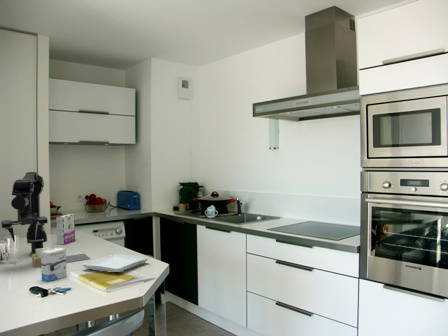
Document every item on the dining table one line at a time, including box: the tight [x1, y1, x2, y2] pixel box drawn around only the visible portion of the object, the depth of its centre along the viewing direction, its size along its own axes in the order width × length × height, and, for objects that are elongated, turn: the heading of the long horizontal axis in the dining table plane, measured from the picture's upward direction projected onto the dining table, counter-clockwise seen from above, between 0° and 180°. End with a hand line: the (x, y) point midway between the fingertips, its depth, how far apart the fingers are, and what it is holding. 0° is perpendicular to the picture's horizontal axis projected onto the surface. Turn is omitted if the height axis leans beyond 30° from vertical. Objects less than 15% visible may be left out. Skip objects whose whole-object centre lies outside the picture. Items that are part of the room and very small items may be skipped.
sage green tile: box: [36, 246, 51, 258], centre depth 181 cm, size 9×6×2 cm, turn 33°
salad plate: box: [82, 253, 149, 273], centre depth 172 cm, size 21×21×3 cm
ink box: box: [40, 247, 68, 283], centre depth 157 cm, size 8×5×12 cm, turn 148°
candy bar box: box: [55, 213, 76, 246], centre depth 228 cm, size 11×5×16 cm, turn 168°
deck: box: [31, 254, 41, 268], centre depth 182 cm, size 12×13×4 cm
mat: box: [66, 253, 91, 264], centre depth 189 cm, size 13×12×1 cm
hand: (25, 240), depth 176 cm, fingers open, 9 cm apart
